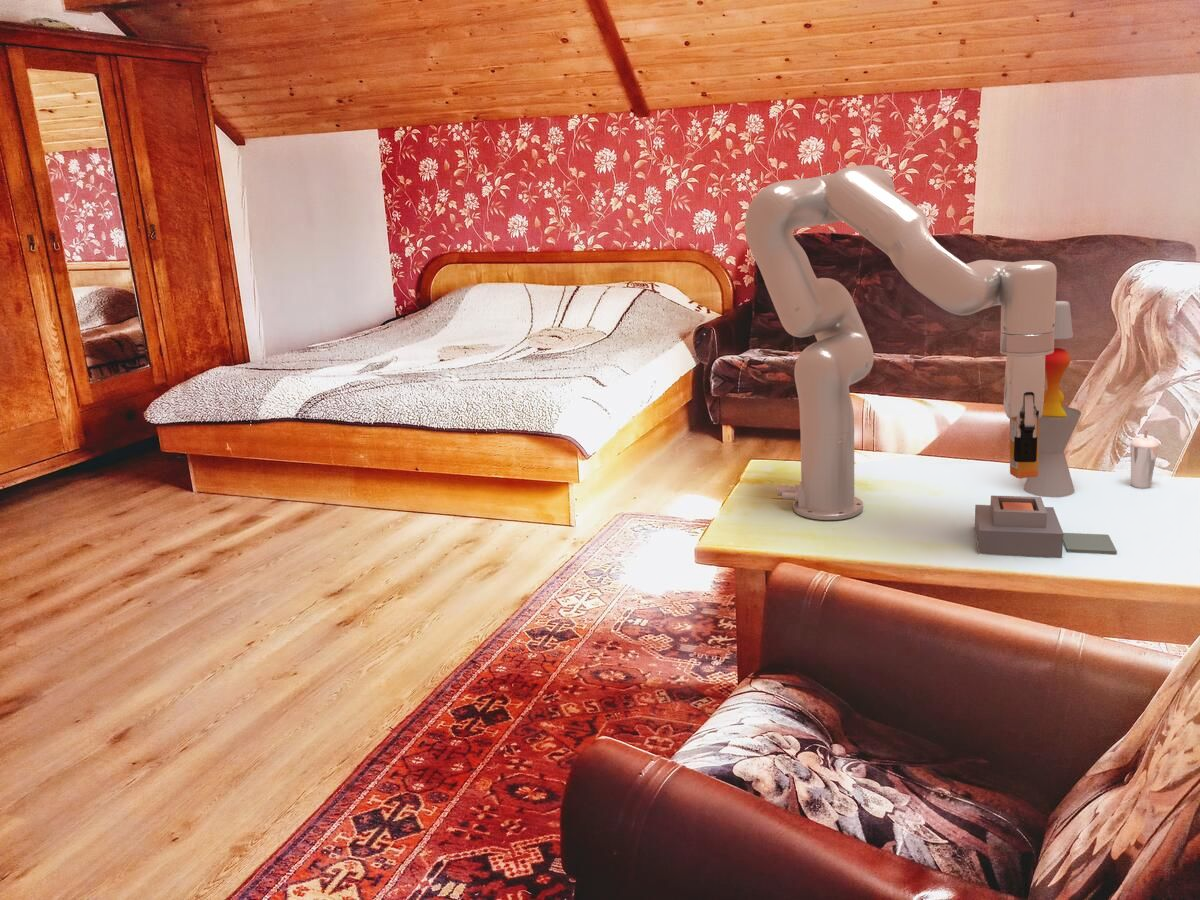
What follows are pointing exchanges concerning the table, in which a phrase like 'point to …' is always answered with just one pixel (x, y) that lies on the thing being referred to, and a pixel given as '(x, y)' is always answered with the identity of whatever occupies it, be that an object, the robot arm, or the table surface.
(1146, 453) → the milkshake
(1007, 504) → the breaker button
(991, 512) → the frame
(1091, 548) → the rest mat
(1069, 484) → the lava lamp
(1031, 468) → the supplement box
